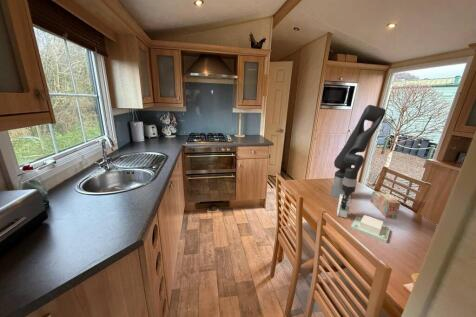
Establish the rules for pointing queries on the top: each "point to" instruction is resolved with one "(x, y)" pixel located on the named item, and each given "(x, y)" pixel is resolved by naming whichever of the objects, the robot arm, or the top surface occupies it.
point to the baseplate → (380, 237)
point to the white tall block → (341, 211)
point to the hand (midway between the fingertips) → (345, 206)
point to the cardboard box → (386, 204)
